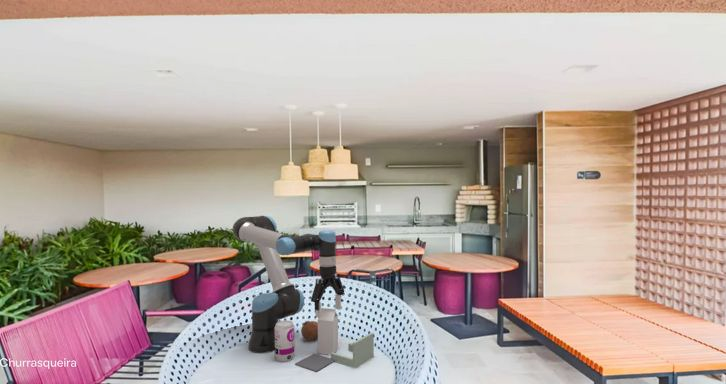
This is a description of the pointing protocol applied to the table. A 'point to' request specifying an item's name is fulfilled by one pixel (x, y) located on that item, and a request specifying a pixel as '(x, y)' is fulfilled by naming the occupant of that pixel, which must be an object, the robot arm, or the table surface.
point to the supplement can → (284, 341)
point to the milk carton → (328, 331)
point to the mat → (315, 362)
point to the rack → (357, 352)
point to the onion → (310, 330)
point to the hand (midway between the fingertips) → (328, 313)
